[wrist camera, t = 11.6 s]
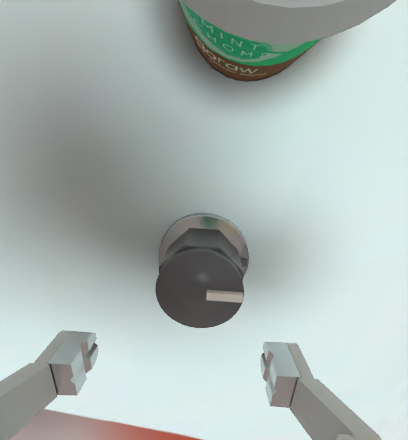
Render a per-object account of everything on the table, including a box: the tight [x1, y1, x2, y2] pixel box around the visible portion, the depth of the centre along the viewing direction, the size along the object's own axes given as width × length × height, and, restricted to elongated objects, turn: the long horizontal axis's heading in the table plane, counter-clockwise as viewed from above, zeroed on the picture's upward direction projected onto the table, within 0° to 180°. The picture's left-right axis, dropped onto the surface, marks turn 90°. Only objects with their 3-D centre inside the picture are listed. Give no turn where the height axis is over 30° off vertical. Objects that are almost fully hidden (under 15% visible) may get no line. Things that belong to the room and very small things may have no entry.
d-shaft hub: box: [159, 213, 249, 277], centre depth 17 cm, size 8×8×4 cm
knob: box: [156, 228, 244, 328], centre depth 16 cm, size 6×6×5 cm
